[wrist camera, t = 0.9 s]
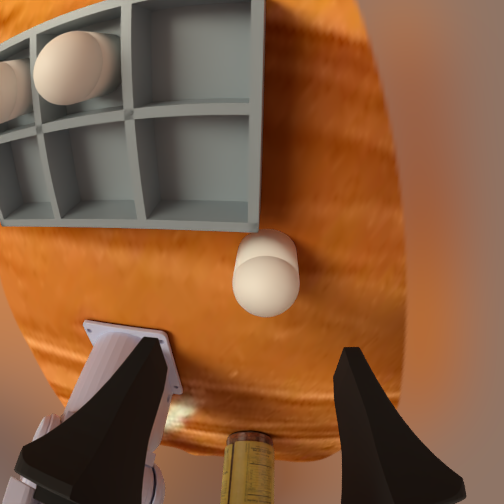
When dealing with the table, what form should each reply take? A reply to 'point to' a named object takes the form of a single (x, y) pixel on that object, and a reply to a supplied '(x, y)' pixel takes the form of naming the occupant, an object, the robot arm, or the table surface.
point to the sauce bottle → (248, 469)
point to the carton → (146, 123)
